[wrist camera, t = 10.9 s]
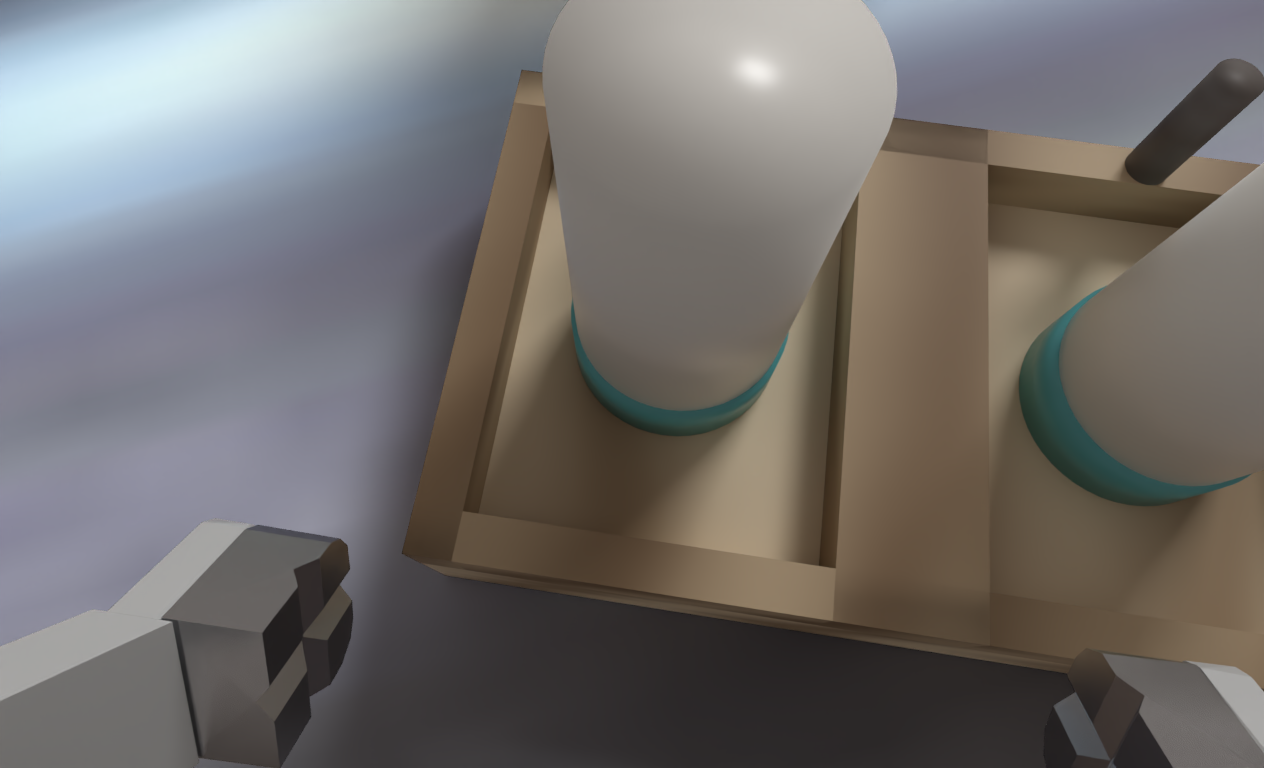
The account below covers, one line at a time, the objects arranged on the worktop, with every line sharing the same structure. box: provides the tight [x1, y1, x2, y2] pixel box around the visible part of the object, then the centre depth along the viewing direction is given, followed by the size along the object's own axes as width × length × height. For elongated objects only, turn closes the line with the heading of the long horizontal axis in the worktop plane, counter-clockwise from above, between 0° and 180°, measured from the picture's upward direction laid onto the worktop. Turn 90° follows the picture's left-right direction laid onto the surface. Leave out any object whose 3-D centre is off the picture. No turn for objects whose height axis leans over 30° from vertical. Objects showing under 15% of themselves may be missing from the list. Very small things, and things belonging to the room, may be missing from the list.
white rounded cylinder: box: [542, 0, 897, 436], centre depth 14 cm, size 5×5×9 cm
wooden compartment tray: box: [402, 59, 1264, 691], centre depth 17 cm, size 20×12×7 cm, turn 81°
